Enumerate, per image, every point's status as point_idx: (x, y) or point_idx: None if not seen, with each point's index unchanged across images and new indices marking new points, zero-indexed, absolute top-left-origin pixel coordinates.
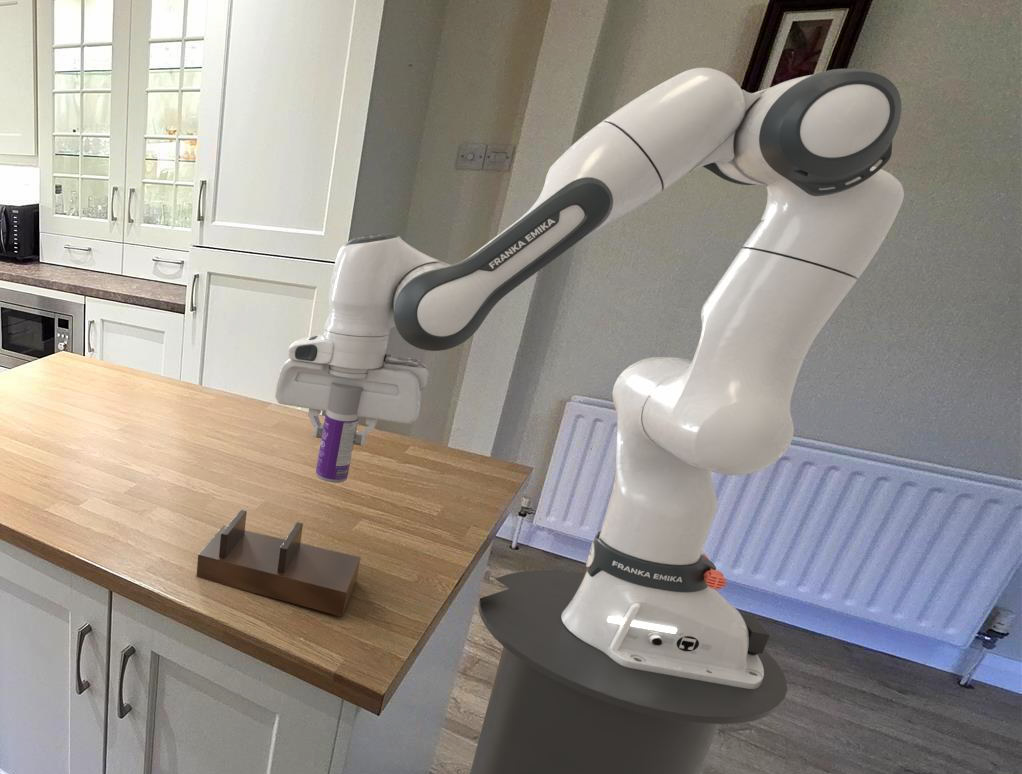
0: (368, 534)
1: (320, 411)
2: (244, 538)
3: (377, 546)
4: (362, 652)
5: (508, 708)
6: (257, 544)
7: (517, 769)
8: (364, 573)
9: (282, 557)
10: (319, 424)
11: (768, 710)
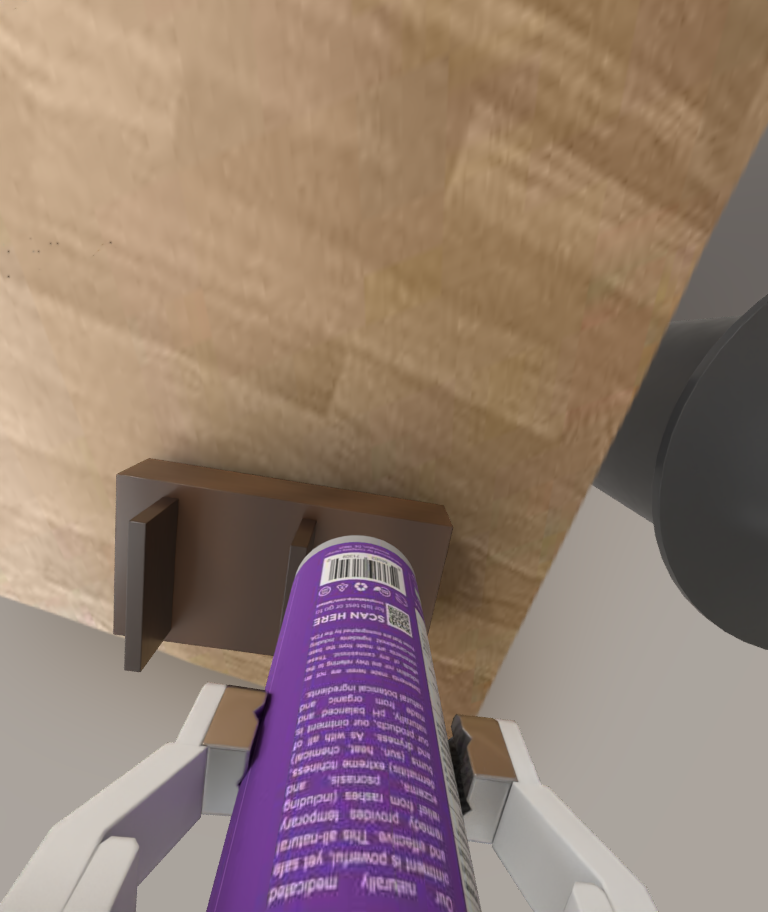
0: (485, 217)
1: (129, 885)
2: (186, 527)
3: (501, 287)
4: (442, 688)
5: (626, 478)
6: (222, 547)
7: (604, 486)
8: (461, 439)
9: None
10: (195, 787)
11: None
